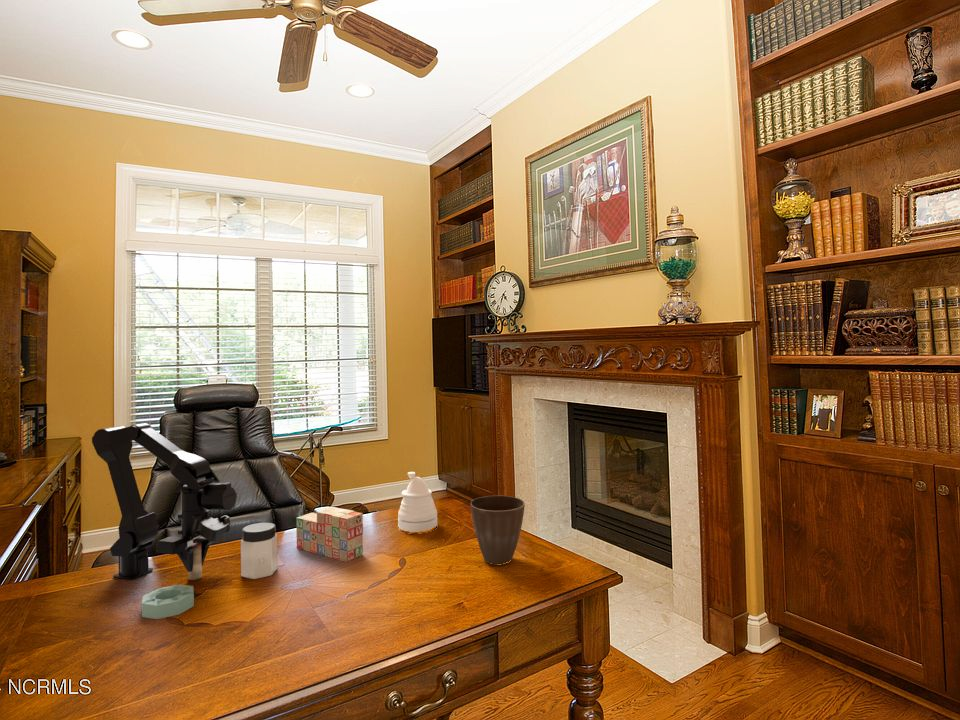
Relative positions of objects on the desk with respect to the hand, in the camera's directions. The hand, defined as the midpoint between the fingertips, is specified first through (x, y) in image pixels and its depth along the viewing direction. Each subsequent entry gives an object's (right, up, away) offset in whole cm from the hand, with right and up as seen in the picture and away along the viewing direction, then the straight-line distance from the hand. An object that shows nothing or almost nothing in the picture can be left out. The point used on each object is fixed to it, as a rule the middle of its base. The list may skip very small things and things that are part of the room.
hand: (195, 569), depth 138 cm
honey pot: (+53, -2, +39) cm, 66 cm away
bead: (+3, -2, -16) cm, 17 cm away
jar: (+15, -2, +3) cm, 16 cm away
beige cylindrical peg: (0, -2, 0) cm, 2 cm away
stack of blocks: (+30, -2, +18) cm, 34 cm away
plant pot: (+78, -1, +9) cm, 79 cm away
